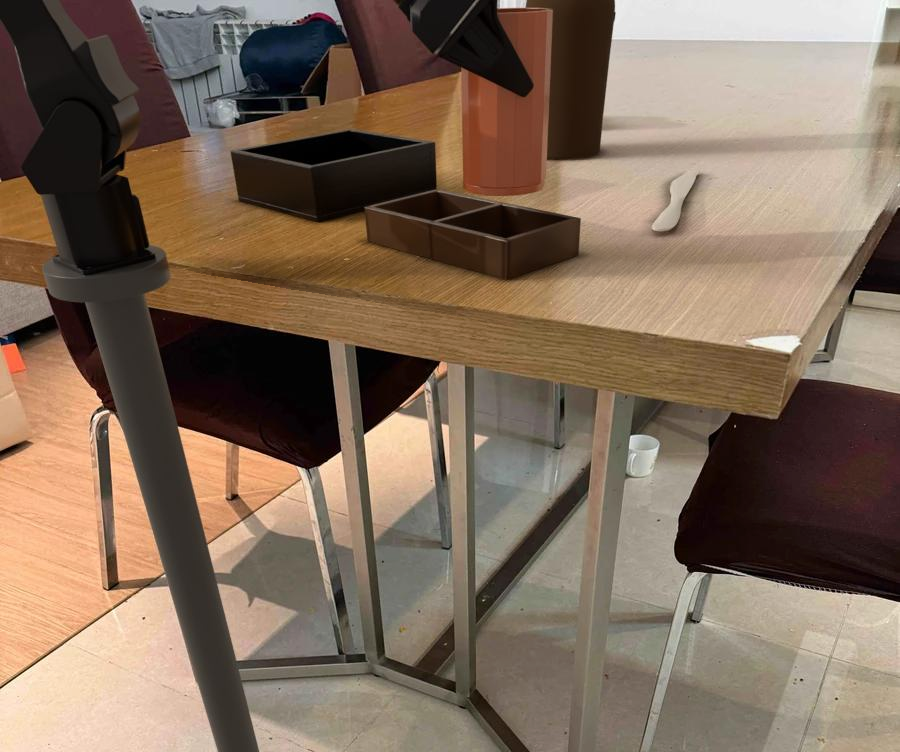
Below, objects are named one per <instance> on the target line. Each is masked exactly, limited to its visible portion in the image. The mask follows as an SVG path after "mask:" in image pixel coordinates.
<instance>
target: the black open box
mask: <svg viewBox="0 0 900 752" xmlns="http://www.w3.org/2000/svg"><path fill="white" fill-rule="evenodd" d="M436 150H437V149H436V142H435V141H433V140H425V139H419V138H418V139H417V138H412V137H406V136H399V135H393V134H388V133H387V134H385V133H380V132H374V131H373V132H372V131H368V130H367V131H366V130H361V129H354V128H349V129H348V128H347V129H342V130H337V131H332V132H326V133H321V134H315V135H309V136H303V137H298V138H293V139H288V140H287V139H286V140H282V141H276V142H271V143H265V144H260V145H254V146H249V147H244V148H237V149H232V150H230V157H231V158H230V159H231V163H232V170H233V176H234V181H235V187H236V192H237V199H238V202H242V203H246V204H249V205H253V206H256V207H260V208H264V209H268V210H271V211H274V212H279V213H282V214H285V215H290V216H293V217H296V218H301V219H305V220H309V221H312V222H315V223H320V222H324V221H327V220H332V219H335V218H339V217H343V216H348V215H351V214H355V213H359V212H363V211H364V212H365V209H364V207H367V206H371V205H375V204H379V203H383V202H387V201H391V200H395V199H399V198H403V197H407V196H411V195H415V194H420V193H424V192H428V191H432V190H436V189H438V181H437V156H436V153H437V151H436Z"/></svg>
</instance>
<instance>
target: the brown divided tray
mask: <svg viewBox="0 0 900 752" xmlns="http://www.w3.org/2000/svg"><path fill="white" fill-rule="evenodd" d="M364 209H365V210H364V218H365V219H364V220H365V230H366V242H369V243H373V244H375V245H379V246H383V247H387V248H390V249H394V250H397V251H401V252H405V253H409V254H412V255H416V256H418V257H423V258H426V259H430V260H433V261H438V262H441V263H445V264H449V265H452V266H455V267H459V268H463V269H466V270H469V271H474V272H476V273H477V272H478V273H480V274H484V275H488V276H492V277H495V278H499V279H502V280H510V279H513V278H515V277H519V276H521V275H524V274H527V273H530V272H532V271H535V270H538V269H542V268H544V267H547V266H550V265H553V264H555V263H559V262H562V261H564V260H567V259H570V258H573V257H576V256H579V254H580V240H581V239H580V238H581V225H582V224H581V223H582V222H581V221H582V219H581V217H578V216H572V215H567V214H562V213H557V212H552V211H547V210H543V209H538V208H534V207H528V206H524V205H518V204H512V203H508V202H503V201H498V200H493V199H489V198H485V197H484V198H483V197H478V196H474V195H468V194H463V193H459V192H454V191H448V190H444V189H439V188H437V189H436V190H432V191H428V192H424V193H420V194H415V195H411V196H407V197H403V198H399V199H395V200H391V201H387V202H383V203H379V204H375V205H371V206H367V207H364Z"/></svg>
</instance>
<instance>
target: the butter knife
mask: <svg viewBox="0 0 900 752" xmlns="http://www.w3.org/2000/svg"><path fill="white" fill-rule="evenodd" d="M699 172H700V170H698V169H692V170H689V171H687V172H685V173H683V174H681V175H679V176H678V177H676V178H674V179H673V180H672V181H671V183H670V186H669V192H670V196H671V197H670V203H669V205H668V206H667V207H666V208H665V209H664V210H663V211H662V212H661V213H660V214H659V215H658V216H657V218H656V220H655V221H654V222H653V223H652V225H651V229H652V230H653V231H656V232H668V231H670V230H673V228H675V226H676V225H677V224H678V222H679V220H680V217H681V215H682V206H683V204H684V203H683V202H684V200H685V198H686V197H687V195H688V194H689V191H690V190H691V189H692V187H693V185H694V183H695V181H696V178H697V176H698V174H699Z"/></svg>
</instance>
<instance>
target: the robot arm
mask: <svg viewBox="0 0 900 752" xmlns="http://www.w3.org/2000/svg"><path fill="white" fill-rule="evenodd" d="M392 1H393V2H394V4H396V6H397V8H398V9H399V10H400V11H401V12H402V14H403V15H405V18H406V20H407V21H408V22H409V23H410V29H411V31H412V33H413V34H414V35H415V36H416V38H418V40H419V41H420V42H421V43H422V44H423V45H424V46H425V47H426V49H427V50H428V51H429V52H430V53H431V54H432V55H433V54H435V56H436V57H438V58H440V59H441V60H445V61H447V62H449V63H451V64H453V65H455V66H457V67H460V69H461V68H463V69H466V70H468V71H470V72H472V73H474V74H476V75H478V76H480V77H482V78H485V79H487V80H489V81H491V82H493V83H495V84H497V85H499V86H501V87H503V88H505V89H507V90H509V91H511V92H513V93H515V94H517V95H519V96H521V97H526V96H527V95H528V94H529V93H530V91H531V90H532V89H533V87H534V84H533V82H532V80H531V78H530V76H529V74H528V73H527V71H526V69H525V67H524V65H523V63H522V62H521V60H520V58H519V56H518V54H517V52H516V51H515V49H514V47H513V45H512V43H511V41H510V40H509V38H508V36H507V34H506V32H505V30H504V28H503V26H502V25H501V23H500V21H499V19H498V16H497V8H498V0H392ZM0 24H1V26H2V27H3V29H4V30H5V32H6V34H7V35H8V37H9V39H10V41H11V44H12V46H13V49H14V52H15V56H16V61H17V64H18V68H19V71H20V76H21V79H22V84H23V87H24V92H25V93H26V96H27V99H28V101H29V103H30V105H31V107H32V108H31V109H33V112H34V114H35V117H36V119H37V121H38V123H39V126H40V128H41V132H40V134H39V135H38V137H37V139H36V140H35V142H34V143H33V146H32V147H31V149H30V151H29V152H28V154H27V155H26V157H25V158H24V160H23V162H22V164H21V167H20V168H21V171H22V173H23V174H24V176H25V177H26V178H27V181H28V182H29V184H30V185H31V186H32V188H33V189H34V191H35V192H36V194H37V195H39V196H40V197H41V200H42V205H43V208H44V210H45V214H46V217H47V220H48V224H49V226H50V230H51V233H52V237H53V241H54V243H55V246H56V251H57V254H53V255H52V256H51V259H53V262H55V263H57V264H59V265H61V266H64V267H66V268H68V269H70V270H72V271H75V272H77V273H79V274H81V275H92V274H96V273H100V272H104V271H108V270H112V269H116V268H120V267H124V266H128V265H133V264H137V263H141V262H145V261H149V260H153V259H155V258H156V256H155V252H152V251H150V250H147V249H145V248H148V247H149V245H151V244H150V240H149V237H148V232H147V228H146V224H145V220H144V215H143V211H142V207H141V203H140V198H139V196H137V195H136V194H134V193H133V192H132V188H131V185H130V180H129V177H127V176H124V175H120V174H119V173H120V172H123V171H124V170H125V168H126V160H127V159H126V158H127V149H128V148H129V147H131V146H132V145H133V144H134V142H135V141H136V139H137V138H138V136H139V131H140V126H141V121H142V117H141V111H140V108H139V105H138V103H137V100H136V98H135V96H134V95H136V94H137V93H139V92H140V88H139V87H138V86H137V85H136V83H134V82H133V80H131V79H130V77H129V76H128V74H127V73H126V72H125V70H124V67H123V66H122V63H121V61H120V59H119V56H118V54H117V50H116V48H115V46H114V44H113V42H112V40H111V38H110V36H109V35H107V34H104V35H100V36H96V37H94V38H90V39H89V38H88V36H86V34H85V33H84V32H83V31H82V30H81V29H80V28H79V27H78V25H76V24H75V23H74V21H73V20H72V19H71V18H70V17H69V15H68V14H67V12H66V10H65V8H64V7H63V5H62V3H61V2H60V0H0Z"/></svg>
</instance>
